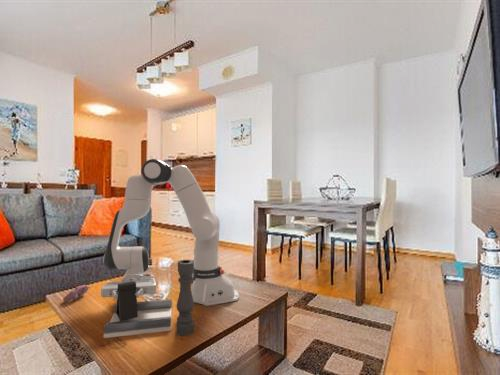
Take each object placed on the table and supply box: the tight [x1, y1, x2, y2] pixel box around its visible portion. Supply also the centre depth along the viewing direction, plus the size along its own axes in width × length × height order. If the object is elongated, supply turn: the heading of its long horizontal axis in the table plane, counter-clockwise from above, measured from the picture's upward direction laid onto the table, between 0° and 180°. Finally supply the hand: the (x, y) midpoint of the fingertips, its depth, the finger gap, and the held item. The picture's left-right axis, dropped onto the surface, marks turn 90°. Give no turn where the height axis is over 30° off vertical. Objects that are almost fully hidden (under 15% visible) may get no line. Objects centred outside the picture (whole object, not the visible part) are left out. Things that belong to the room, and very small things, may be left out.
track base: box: [103, 308, 173, 339], centre depth 109 cm, size 22×19×1 cm
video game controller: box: [62, 284, 89, 303], centre depth 128 cm, size 10×5×7 cm, turn 170°
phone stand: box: [115, 281, 138, 321], centre depth 107 cm, size 9×6×12 cm, turn 35°
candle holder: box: [175, 259, 195, 337], centre depth 102 cm, size 6×6×25 cm
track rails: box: [103, 298, 173, 335], centre depth 108 cm, size 22×17×3 cm
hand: (126, 296), depth 106 cm, fingers closed on phone stand, 6 cm apart
